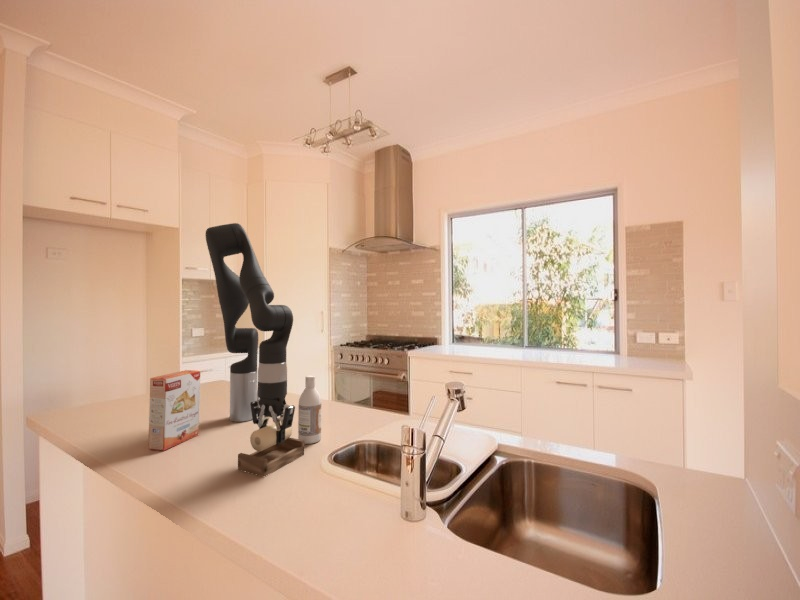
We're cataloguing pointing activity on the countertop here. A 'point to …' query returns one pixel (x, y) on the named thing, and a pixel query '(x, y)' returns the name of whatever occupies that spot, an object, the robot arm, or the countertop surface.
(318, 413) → the bath foam
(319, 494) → the countertop surface
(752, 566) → the countertop surface
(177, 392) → the cracker box
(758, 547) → the countertop surface
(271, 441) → the roll
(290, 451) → the cradle
